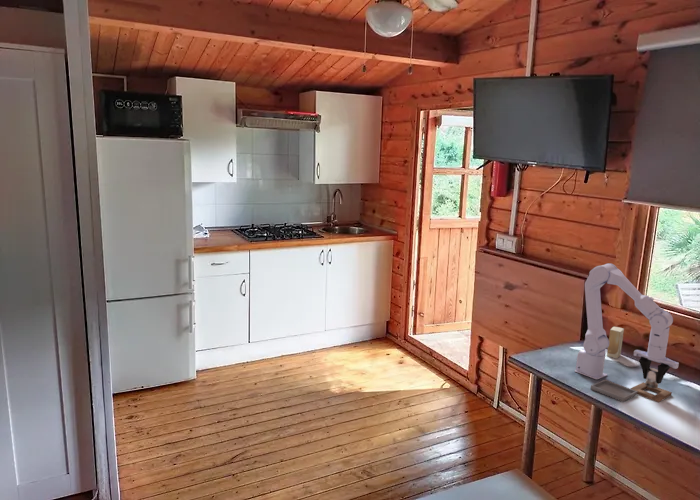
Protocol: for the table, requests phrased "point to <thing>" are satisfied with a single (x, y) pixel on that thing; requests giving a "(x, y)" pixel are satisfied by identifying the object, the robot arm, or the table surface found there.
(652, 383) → the steel pin
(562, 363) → the table surface
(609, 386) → the tray
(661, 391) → the socket block
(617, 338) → the skincare box
